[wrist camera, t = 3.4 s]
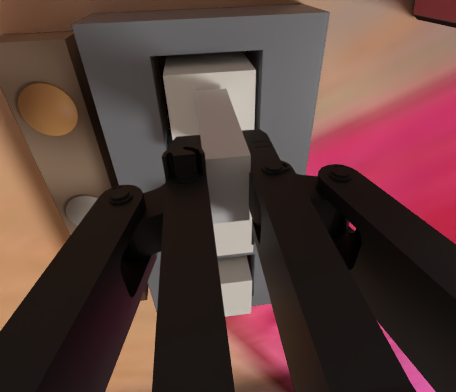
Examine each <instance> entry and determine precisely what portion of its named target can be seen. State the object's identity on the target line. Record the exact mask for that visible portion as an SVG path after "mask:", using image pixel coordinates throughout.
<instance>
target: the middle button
mask: <svg viewBox="0 0 456 392" xmlns="http://www.w3.org/2000/svg"><path fill="white" fill-rule="evenodd" d="M213 228H214V236H215V243H216V251H217V256H223V255H232V254H241V253H250V252H253V245H251V239H252V216H251V213H250V219H249V220H245V221H235V222H225V223H216V224H213Z"/></svg>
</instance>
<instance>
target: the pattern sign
mask: <svg viewBox="0 0 456 392" xmlns="http://www.w3.org/2000/svg"><path fill="white" fill-rule="evenodd" d="M0 87H1V90H2V92H3V94H4V96H5V98H6V100H7V102H8V104H9V106H10V109H11V111H12V113H13V115H14V117H15V119H16V121H17V123H18V126H19V128H20V130H21V132H22V134H23V136H24V138H25V140H26V143H27V145H28V147H29V149H30V151H31V153H32V155H33V157H34V160H35V162H36V164H37V166H38V168H39V170H40V172H41V174H42V176H43V179H44V181H45V183H46V185H47V187H48V189H49V191H50V193H51V196H52V198H53V200H54V202H55V204H56V206H57V208H58V210H59V213H60V215H61V217H62V219H63V221H64V223H65V225H66V227H67V230H68V232H69V234H70V236H71V234H72V233H73V232H74V230H75V229H76V228H77V226H78V225H79V223H80V222H81V221H82V219H83V218H84V217H85V215H86V214H87V213H88V211H89V210H90V208H91V207H92V206H93V204H94V203H95V202H96V200H97V199H98V198H99V196H100V195H101V194H102V193H103V192H104V191H106V190H108V189H110V188H112V187H115V186H118V185H119V184H118V180H117V177H116V174H115V170H114V167H113V164H112V160H111V157H110V153H109V150H108V147H107V143H106V140H105V137H104V133H103V130H102V126H101V123H100V120H99V116H98V113H97V110H96V106H95V103H94V99H93V96H92V93H91V89H90V86H89V83H88V79H87V76H86V73H85V69H84V66H83V62H82V59H81V56H80V52H79V49H78V46H77V42H76V39H75V35H74V32H73V31H67V32H47V33H27V34H7V35H1V36H0ZM148 286H149V285H148V282H147V285H146V287H145V290H144V292H143V295H142V298H141V300H140V301H142V300H147V295H148Z"/></svg>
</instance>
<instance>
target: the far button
mask: <svg viewBox="0 0 456 392" xmlns="http://www.w3.org/2000/svg"><path fill="white" fill-rule="evenodd" d="M217 259H218V266H219V274H220V282H221V289H222V297H223V305H224V313H225V317H226V316H234V315H241V314H249V313H251V302H252V277H251V273H250V268H249V264H248V260H247V255H244V256H235V257H226V258H217Z"/></svg>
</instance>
